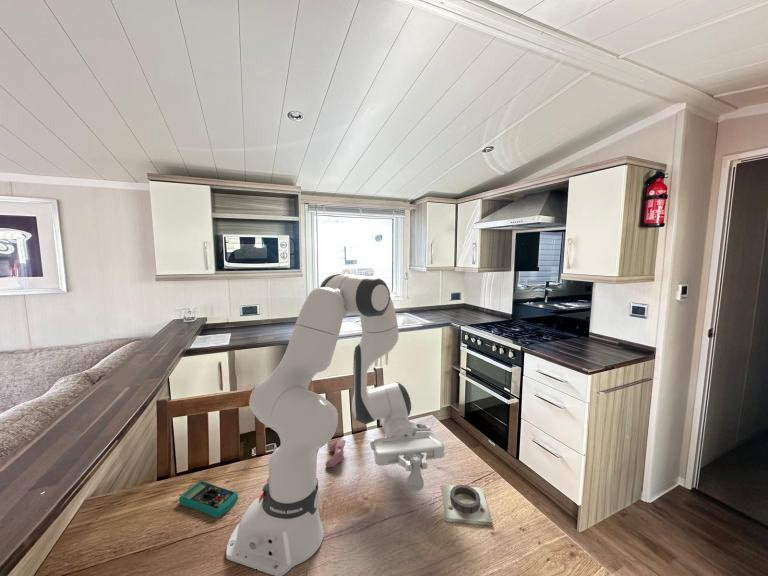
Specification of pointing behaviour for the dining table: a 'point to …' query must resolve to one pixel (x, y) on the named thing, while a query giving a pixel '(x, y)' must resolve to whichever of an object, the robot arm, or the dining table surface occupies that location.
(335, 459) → the pink irregular piece
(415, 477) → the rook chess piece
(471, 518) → the socket block
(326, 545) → the dining table surface
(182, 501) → the digital multimeter
